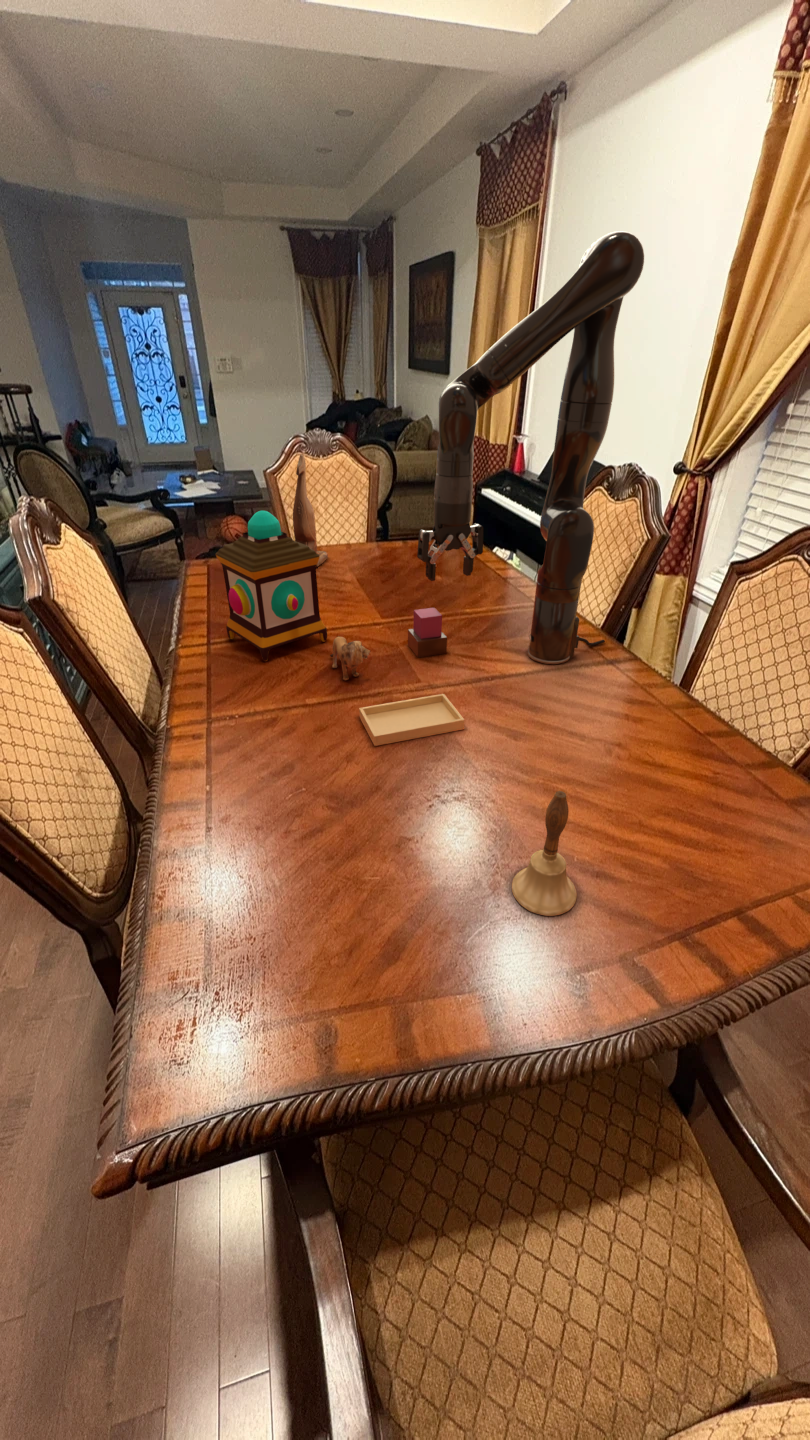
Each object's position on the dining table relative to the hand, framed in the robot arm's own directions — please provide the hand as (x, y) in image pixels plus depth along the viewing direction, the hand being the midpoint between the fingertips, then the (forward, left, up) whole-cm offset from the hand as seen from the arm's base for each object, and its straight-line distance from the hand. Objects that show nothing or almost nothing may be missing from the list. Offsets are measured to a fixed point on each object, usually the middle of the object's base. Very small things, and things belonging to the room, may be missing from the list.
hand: (449, 577), depth 129 cm
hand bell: (+14, +69, -18) cm, 73 cm away
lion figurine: (+23, +1, -18) cm, 30 cm away
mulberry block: (+3, -4, -14) cm, 15 cm away
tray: (+17, +25, -18) cm, 36 cm away
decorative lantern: (+35, -20, -18) cm, 44 cm away
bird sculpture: (+17, -77, -18) cm, 81 cm away
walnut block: (+3, -4, -18) cm, 19 cm away
